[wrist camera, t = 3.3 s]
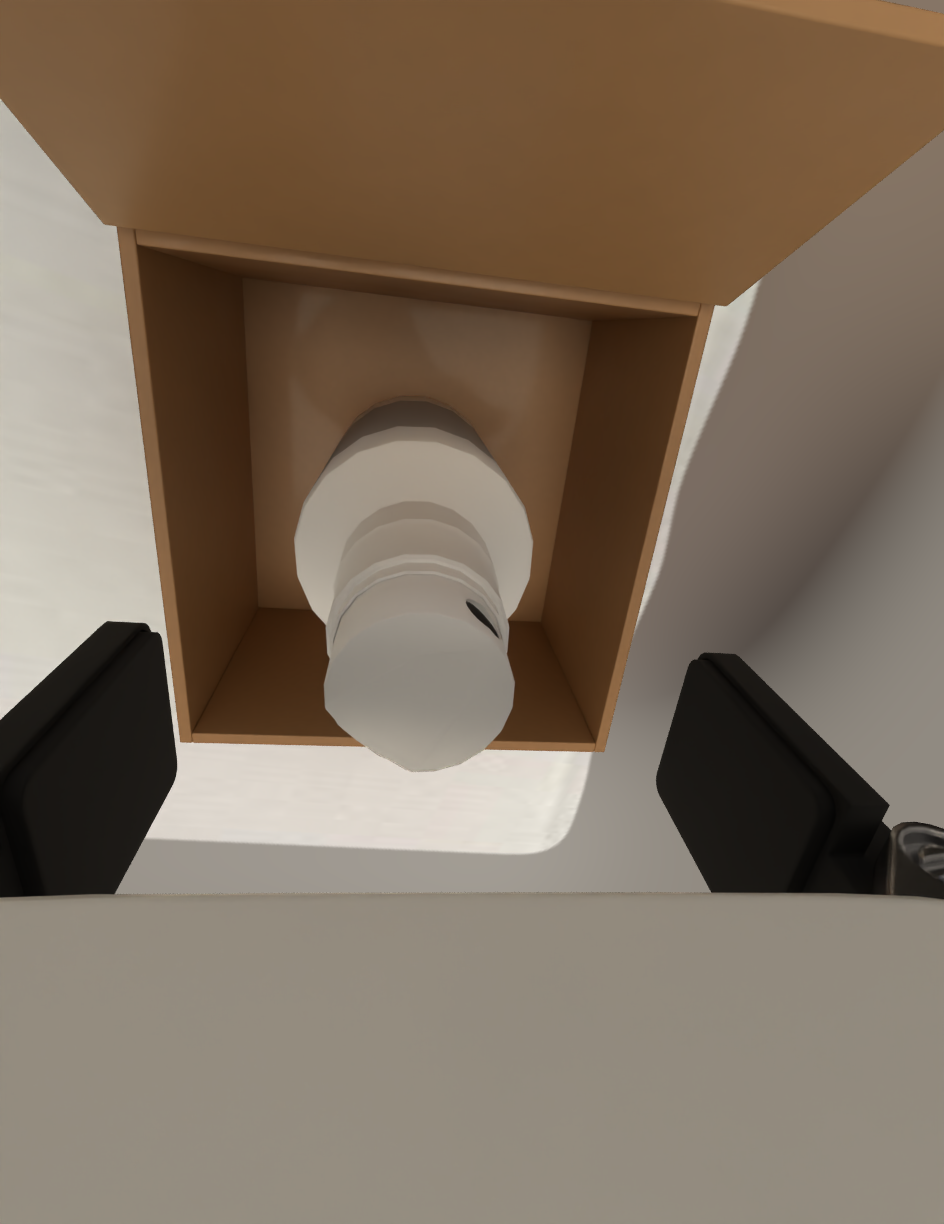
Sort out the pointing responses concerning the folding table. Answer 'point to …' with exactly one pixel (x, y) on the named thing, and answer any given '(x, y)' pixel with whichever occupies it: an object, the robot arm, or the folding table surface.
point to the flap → (483, 126)
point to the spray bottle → (415, 582)
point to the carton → (326, 408)
